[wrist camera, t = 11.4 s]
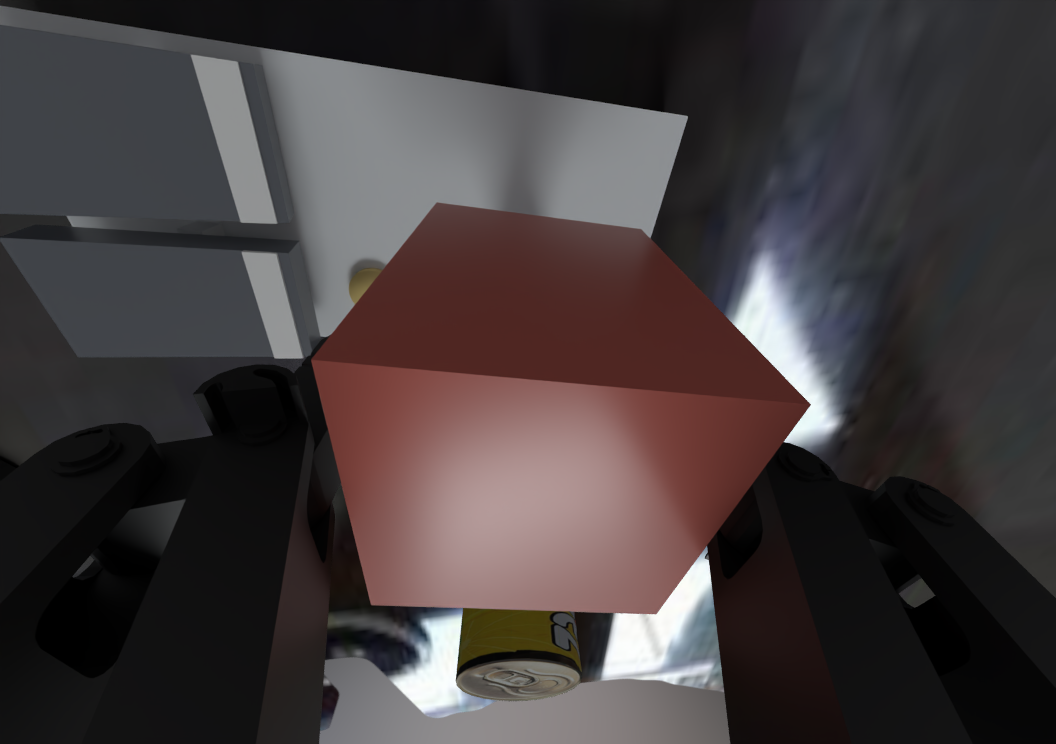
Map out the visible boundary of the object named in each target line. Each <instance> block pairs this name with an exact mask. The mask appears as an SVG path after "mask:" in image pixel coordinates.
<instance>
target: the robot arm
mask: <svg viewBox="0 0 1056 744" xmlns="http://www.w3.org/2000/svg"><path fill="white" fill-rule="evenodd" d="M329 337H330V335H329V336H328V337H326V338H324V339H322V340H321V341H320V342H319V343H318V345H317V346H316V347H315V348H314V349H313V351H312V352H311V355H310V356H308V357H307V358H306V359H305V360H304V362H303V363H302V367H299V368H298V369H297V370H296V371H295V373H292V372H291V371H290V370H289V369H287V368H283V367H280V366H276V365H251V366H244V367H238V368H235V369H232V370H229V371H226V372H223V373H220V374H218V375H216V376H215V377H213V378H211V379H210V380H208V381H206V382H204V383H203V384H202V385H201V386H200V387H199V388H198V389H197V390H196V392H195V393H194V394H193V395H194V397H195V399H196V402H197V404H198V406H199V408H200V410H201V412H202V414H203V416H204V418H205V420H206V422H207V424H208V426H209V428H210V430H211V432H212V434H213V435H212V436H207V437H202V438H195V439H188V440H181V441H174V442H167V443H160V444H157V443H156V442H155V440H154V438H153V437H152V435H151V434H150V432H148V431H147V430H146V429H145V428H143V427H142V426H140V425H134V424H128V423H118V424H105V425H100V426H96V427H92V428H88V429H85V430H81V431H78V432H76V433H73V434H71V435H68V436H66V437H64V438H61V439H59V440H57V441H55V442H53V443H51V444H50V445H48V446H47V447H45V448H43V449H42V450H40V451H39V452H37V453H36V454H34V455H33V456H32V457H30V458H29V459H28V460H26V461H25V462H24V463H23V464H21V465H20V466H19V467H18V468H15V467H13V466H11V465H10V464H8V463H6V462H4V461H2V460H0V744H319V734H320V721H321V707H322V693H323V679H324V665H325V651H326V637H327V623H328V609H329V594H330V580H331V566H332V552H333V538H334V524H335V513H334V508H333V504H332V500H333V498H334V496H335V493H336V491H337V489H338V487H339V485H340V483H341V480H340V476H339V472H338V468H337V464H336V460H335V456H334V451H333V447H332V443H331V439H330V435H329V431H328V427H327V423H326V419H325V415H324V411H323V407H322V403H321V399H320V394H319V390H318V386H317V382H316V378H315V374H314V370H313V366H312V362H311V359H312V358H313V357H314V355H315V354H316V353H317V352H318V350H319V349H320V348H321V347H322V345H323V344H324V343H325V342H326V340H327V339H328V338H329ZM707 548H708V553H707V554H706V556H705V559H708V560H709V565H710V574H711V582H712V591H713V599H714V608H715V616H716V625H717V633H718V642H719V650H720V659H721V667H722V676H723V685H724V693H725V702H726V710H727V719H728V727H729V736H730V743H731V744H1056V598H1055V597H1054V596H1053V595H1052V594H1051V593H1050V592H1049V591H1048V590H1047V589H1046V588H1044V587H1043V586H1042V585H1041V584H1040V583H1039V582H1038V581H1037V580H1036V579H1035V578H1034V577H1033V576H1032V575H1031V574H1030V573H1029V572H1028V571H1027V570H1026V569H1025V568H1024V567H1023V566H1022V565H1021V564H1020V563H1019V562H1018V561H1017V560H1016V559H1015V558H1014V557H1012V556H1011V555H1010V554H1009V553H1008V552H1007V551H1006V550H1005V549H1004V548H1003V547H1002V546H1001V545H1000V544H999V543H998V542H997V541H996V540H995V539H994V538H993V537H992V536H991V535H990V534H989V533H988V532H987V531H986V530H985V529H984V528H983V527H982V526H980V525H979V524H978V523H977V522H976V521H975V520H974V519H973V518H972V517H971V516H970V515H969V514H968V513H967V512H966V511H965V510H964V509H962V508H961V507H960V506H959V505H958V504H956V503H955V502H954V501H953V500H952V499H950V498H949V497H947V496H945V495H944V494H942V493H941V492H940V491H939V490H937V489H936V488H934V487H932V486H929V485H926V484H925V483H922V482H919V481H917V480H913V479H909V478H905V477H901V476H899V477H890V478H888V479H887V480H886V481H885V482H884V483H883V484H882V485H881V486H880V487H879V488H878V489H877V490H876V491H875V492H874V491H871V490H868V489H865V488H861V487H858V486H855V485H852V484H849V483H845V482H842V481H839V479H838V478H837V476H836V475H835V473H834V472H833V471H832V469H831V468H830V467H829V466H828V465H827V464H826V463H824V462H823V461H822V460H821V459H820V458H819V457H817V456H815V455H814V454H812V453H810V452H809V451H807V450H805V449H804V448H801V447H798V446H796V445H793V444H790V443H785V442H783V443H782V444H781V446H780V447H779V449H778V450H777V451H776V453H775V454H774V455H773V457H772V458H771V459H770V461H769V462H768V463H767V465H766V466H765V467H764V469H763V470H762V472H761V473H760V474H759V476H758V477H757V478H756V480H755V481H754V482H753V484H752V485H751V486H750V488H749V489H748V491H747V492H746V493H745V495H744V496H743V497H742V499H741V500H740V501H739V503H738V504H737V505H736V507H735V508H734V509H733V511H732V512H731V514H730V515H729V516H728V518H727V519H726V520H725V522H724V523H723V524H722V526H721V527H720V528H719V530H718V531H717V532H716V534H715V535H714V537H713V538H712V539H711V541H710V542H709V543H708V545H707ZM89 556H91V557H92V558H93V559H94V561H93V563H92V564H91V565H90V566H89V567H88V568H87V569H86V570H85V571H83V572H82V573H81V574H80V575H79V576H77V577H75V578H73V577H72V576H73V575H74V574H75V572H76V571H77V570H78V569H79V568H80V567H81V565H82V564H83V563H84V562H85V561H86V560H87V558H88V557H89ZM920 578H922V579H923V580H924V582H925V583H926V584H927V585H928V587H929V588H930V589H931V590H932V592H933V593H934V594H935V595H936V596H934V597H933V598H931V599H929V600H928V601H926V602H925V603H923V604H921V605H920V606H918V607H915V608H914V607H912V606H910V605H909V604H907V603H906V602H905V601H904V599H903V598H902V597H901V596H900V595H899V593H900V592H901V591H903V590H904V589H906V588H907V587H909V586H910V585H912V584H913V583H915V582H916V581H918V580H919V579H920Z"/></svg>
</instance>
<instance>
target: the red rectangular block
mask: <svg viewBox="0 0 1056 744" xmlns="http://www.w3.org/2000/svg"><path fill="white" fill-rule="evenodd" d="M311 362H312V366H313V370H314V374H315V378H316V382H317V386H318V390H319V394H320V399H321V403H322V407H323V411H324V415H325V419H326V423H327V427H328V431H329V435H330V439H331V443H332V447H333V451H334V456H335V460H336V464H337V468H338V472H339V476H340V480H341V484H342V488H343V492H344V496H345V500H346V504H347V508H348V512H349V517H350V521H351V525H352V529H353V533H354V537H355V541H356V545H357V549H358V553H359V557H360V561H361V565H362V569H363V573H364V578H365V582H366V586H367V590H368V594H369V598H370V602H371V605H388V606H418V607H449V608H480V609H510V610H541V611H572V612H603V613H633V614H657V612H658V611H659V610H660V608H661V607H662V606H663V604H664V603H665V602H666V600H667V599H668V597H669V596H670V595H671V593H672V592H673V591H674V589H675V588H676V587H677V585H678V584H679V583H680V581H681V580H682V579H683V577H684V576H685V574H686V573H687V572H688V570H689V569H690V568H691V566H692V565H693V564H694V562H695V561H696V560H697V558H698V557H699V556H700V554H701V553H702V551H703V550H704V549H705V547H706V546H707V545H708V543H709V542H710V541H711V539H712V538H713V537H714V535H715V534H716V532H717V531H718V530H719V528H720V527H721V526H722V524H723V523H724V522H725V520H726V519H727V518H728V516H729V515H730V514H731V512H732V511H733V509H734V508H735V507H736V505H737V504H738V503H739V501H740V500H741V499H742V497H743V496H744V495H745V493H746V492H747V491H748V489H749V488H750V486H751V485H752V484H753V482H754V481H755V480H756V478H757V477H758V476H759V474H760V473H761V472H762V470H763V469H764V467H765V466H766V465H767V463H768V462H769V461H770V459H771V458H772V457H773V455H774V454H775V453H776V451H777V450H778V449H779V447H780V446H781V444H782V443H783V442H784V440H785V439H786V438H787V436H788V435H789V434H790V432H791V431H792V430H793V428H794V427H795V425H796V424H797V423H798V421H799V420H800V419H801V417H802V416H803V415H804V413H805V412H806V411H807V409H808V408H809V407H810V405H811V404H810V403H809V402H808V401H807V400H806V399H805V398H804V397H803V396H802V395H801V394H800V393H799V392H798V391H797V390H796V389H795V388H794V387H793V386H792V385H791V384H790V383H789V382H788V381H787V380H786V379H785V377H784V376H783V375H782V374H781V373H780V372H779V371H778V370H777V369H776V368H775V367H774V366H773V365H772V364H771V363H770V362H769V361H768V360H767V359H766V358H765V357H764V356H763V355H762V354H761V353H760V352H759V351H758V350H757V348H756V347H755V346H754V345H753V344H752V343H751V342H750V341H749V340H748V339H747V338H746V337H745V336H744V335H743V334H742V333H741V332H740V331H739V330H738V329H737V328H736V327H735V326H734V325H733V324H732V323H731V322H730V321H729V320H728V318H727V317H726V316H725V315H724V314H723V313H722V312H721V311H720V310H719V309H718V308H717V307H716V306H715V305H714V304H713V303H712V302H711V301H710V300H709V299H708V298H707V297H706V296H705V295H704V294H703V293H702V292H701V291H700V289H699V288H698V287H697V286H696V285H695V284H694V283H693V282H692V281H691V280H690V279H689V278H688V277H687V276H686V275H685V274H684V273H683V272H682V271H681V270H680V269H679V268H678V267H677V266H676V265H675V264H674V263H673V262H672V260H671V259H670V258H669V257H668V256H667V255H666V254H665V253H664V252H663V251H662V250H661V249H660V248H659V247H658V246H657V245H656V244H655V243H654V242H653V241H652V240H651V239H650V238H649V237H648V236H647V235H646V234H645V233H644V232H643V230H642V229H637V228H629V227H622V226H614V225H606V224H599V223H591V222H583V221H576V220H568V219H560V218H553V217H545V216H537V215H530V214H522V213H515V212H507V211H499V210H492V209H484V208H476V207H469V206H461V205H453V204H446V203H438V202H436V204H435V205H434V206H433V207H432V209H431V210H430V211H429V213H428V214H427V215H426V216H425V218H424V219H423V220H422V221H421V223H420V224H419V225H418V226H417V228H416V229H415V230H414V231H413V233H412V234H411V235H410V236H409V238H408V239H407V240H406V241H405V243H404V244H403V245H402V246H401V248H400V249H399V250H398V251H397V253H396V254H395V255H394V256H393V258H392V259H391V260H390V261H389V263H388V264H387V265H386V266H385V268H384V269H383V270H382V271H381V273H380V274H379V275H378V276H377V278H376V279H375V280H374V281H373V283H372V284H371V285H370V286H369V288H368V289H367V290H366V291H365V293H364V294H363V295H362V297H361V298H360V299H359V300H358V302H357V303H356V304H355V305H354V307H353V308H352V309H351V310H350V312H349V313H348V314H347V315H346V317H345V318H344V319H343V320H342V322H341V323H340V324H339V325H338V327H337V328H336V329H335V330H334V332H333V333H332V334H331V335H330V337H329V338H328V339H327V340H326V342H325V343H324V344H323V345H322V347H321V348H320V349H319V350H318V352H317V353H316V354H315V355H314V357H313V358H312V359H311Z"/></svg>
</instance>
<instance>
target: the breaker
mask: <svg viewBox="0 0 1056 744" xmlns="http://www.w3.org/2000/svg"><path fill="white" fill-rule="evenodd" d="M0 214H30V215H60V216H90V217H120V218H151V219H181V220H211V221H241V223H268V224H277V223H290V221H291V219H292V216H293V214H294V208H293V204H292V199H291V195H290V190H289V185H288V181H287V176H286V172H285V167H284V162H283V158H282V153H281V149H280V144H279V139H278V135H277V130H276V126H275V121H274V116H273V112H272V107H271V103H270V98H269V93H268V89H267V84H266V79H265V75H264V70H263V66H262V65H258V64H252V63H245V62H239V61H232V60H226V59H219V58H213V57H206V56H200V55H193V54H187V53H180V52H174V51H168V50H161V49H155V48H148V47H142V46H135V45H129V44H122V43H116V42H109V41H103V40H96V39H90V38H83V37H77V36H71V35H64V34H58V33H51V32H45V31H38V30H32V29H25V28H19V27H12V26H6V25H0Z"/></svg>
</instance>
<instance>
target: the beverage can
mask: <svg viewBox="0 0 1056 744" xmlns="http://www.w3.org/2000/svg"><path fill="white" fill-rule="evenodd" d="M581 679H582V674H581V665H580V657H579V648H578V640H577V631H576V623H575V614H574V612H572V611H541V610H510V609H480V608H463V615H462V625H461V635H460V645H459V655H458V664H457V674H456V683H457V686H458V687H459V688H460V689H461V690H462V691H463V692H465V693H468V694H470V695H472V696H476V697H480V698H484V699H490V700H499V701H528V700H537V699H543V698H548V697H553V696H557V695H560V694H563V693H565V692H568V691H570V690H572V689H574V688H575V687H576V686H577V685H578V684H580V682H581Z"/></svg>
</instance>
